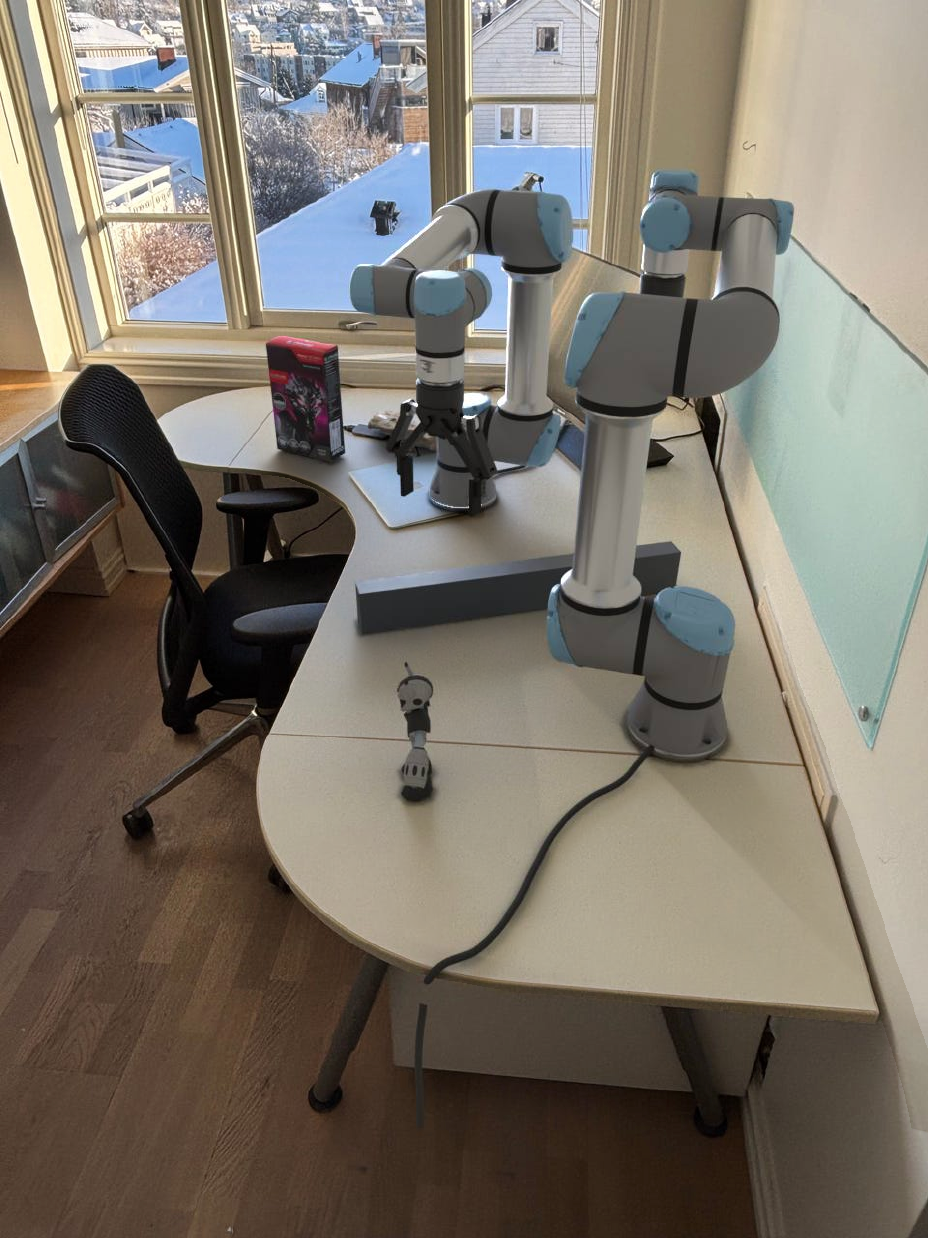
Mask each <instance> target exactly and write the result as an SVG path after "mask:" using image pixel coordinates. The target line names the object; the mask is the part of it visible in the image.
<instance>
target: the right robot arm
mask: <svg viewBox="0 0 928 1238" xmlns="http://www.w3.org/2000/svg"><path fill="white" fill-rule="evenodd" d="M699 181H700V178H699V175H698V174H697V172H695V171H692V170H686V169H672V168H671V169H660V170H659V169H658V170H657V171H654V172H653V174H652V175H651V181H650V188H649V189H648V194H649V195H648V203H646V205H645V207H644V208H643V209H642V212H641V214H640V221H639V234H640V238H641V241H642V242H643V247H642V248H643V249H642V257H641V266H640V267H641V270H642V272H641V274H640V277H639V285H638V293H635V292H626V290H624V291H623V290H622V291H620V292H608V291H607V292H603V291H597V292H593V293H591V294H589V295H588V296H587V297H586V298H585V299H584V301H583V302H582V304H581V306H580V308H579V311H578V314H577V315H576V316H577V317H576V319H575V322H574V327H573V330H572V334H571V338H570V342H569V345H568V351H567V355H566V360H565V367H564V379H563V382H564V385H566V386H567V387H569V388H570V389H575V399H574V400H575V405H576V407H577V406H578V407H579V410H581V411H582V412H583V414H584V415H585V422H584V423H585V424H584V435H583V445H582V456H581V457H582V458H581V467H580V479H579V490H578V491H579V492H578V502H577V513H576V514H577V515H576V524H575V535H574V536H575V537H574V547H573V554H574V557H573V569H571V570H570V571H568V572H567V573H566V574H565V575H564V576H563V577H562V579H561V584H557V585H555V586H554V587H553V588H552V590H551V593H550V596H549V601H548V608H547V617H546V641H547V646H548V650H549V653H550V655H551V656H552V658H554V659H555V660H556V661H558V662H560V663H564V664H567V665H568V664H569V665H573V666H575V667H577V668H583V667H584V668H588V669H589V668H591V669H596V670H602V671H607V672H608V671H609V672H614V673H620V674H627V675H633V676H638V677H639V676H640V677H643V682H642V684H641V685H640V688H639V689H638V691H637V692H636V694H635V695H634V697H633V699H632V701H631V702H630V704H629V706H628V708H627V712H626V719H625V728H626V732H627V734H628V736H629V738H630V739H631V741H632V742H634V744H636V745H637V746H638V747H639V748H640V749H641V750H643V751H642V753H640V755H639V756H638V757H637V758H636V760H635V761H634V762H633V763H632V765H631V766H630V767H629V768H628V769H627V771H626V772H625V773H624V774H623V775H622V776H621V777H619V778H618V779H616V780H614V781H613V782H611V783H609V784H607V785H605V786H603V787H601V788H599V789H597V790H595V791H593V792H590V794H587V796H585V797H583V798H582V799H581V800H580V801H579V802H577V803H576V804H575V805H574V806H573V807H571V808H570V809H569V810H568V811H567V812H566V813H565V814H563V816H562V817H561V818H560V820H558V822H557V823H556V824H555V825H554V827H552V829H551V831H550V832H549V833H548V835H547V836H546V838H545V839H544V841H543V843H542V844H541V846H540V849H539V851H538V852H537V854H536V857H535V858H534V861H533V862H532V864H531V866H530V867H529V869H528V872H527V874H526V876H525V878H524V880H523V882H522V884H521V886H520V888H519V890H518V892H517V894H516V896H515V897H514V899H513V901H512V903H511V904H510V906H509V907H508V908H507V909H506V911H505V913H504V914H503V915H502V917H501V919H500V920H499V921H498V923H497V924H496V925H495V926H494V928H493V929H492V930H491V931H490V932H489V934H487V935H486V936H485V937H484V938H483V939H482V940H481V941H479V942H478V943H476V945H474V946H473V947H470V948H469V949H467V950H465V951H461V952H458V953H456V954H453V955H450V956H447V957H445V958H443V959H441V960H440V961H438V962H437V963H436V964H435V965H433V967H432V968H431V969H429V971H428V972H427V974H426V975H425V977H424V979H423V984H424V985H426V986H427V985H431V984H432V983H433V982H434V980H435V979H436V977H438V975H439V974H440V973H441V972H442V971H444V970H445V969H446V968H448V967H450V966H453V965H456V964H458V963H461V962H465V961H467V960H469V959H472V958H474V957H475V956H478V955H479V954H480V953H482V952H483V951H484V950H486V949H487V947H489V946H490V945H491V944H492V943H493V942H494V941H495V940H496V939H497V938H498V936H500V934H501V933H502V932H503V931H504V929H506V926H507V925H508V924H509V922H510V921H511V920H512V919H513V916H514V915H515V913H516V912H517V910H518V909H519V908H520V906H521V904H522V902H523V901H524V899H525V898H526V895H527V893H528V891H529V889H530V887H531V885H532V882H533V880H534V879H535V876H536V875H537V872H538V870H539V869H540V866H541V865H542V863H543V860H544V859H545V857H546V855H547V853H548V851H549V849H550V847H551V845H552V843H553V842H554V840H555V839H556V837H557V836H558V834H559V833H560V832H561V831H562V829H563V828H564V827H565V825H566V824H567V823H568V822H570V820H571V819H572V818H573V817H575V815H577V814H578V813H579V812H580V811H582V809H584V808H585V807H586V806H588V805H589V804H590V803H592V802H594V801H595V800H597V799H598V798H600V797H603V796H604V795H606V794H608V793H610V792H613V791H614V790H616V789H618V788H620V787H621V786H622V785H625V783H626V782H628V781H629V780H630V779H631V778H632V776H633V775H634V774H635V773H636V772H637V770H638V769H639V767H640V766H641V765H642V764H643V763H644V762H645V761H646V759H648V757H649V756H650V755H651V756H654V757H656V758H659V759H662V760H666V761H670V762H675V763H694V762H700V761H703V760H706V759H709V758H711V757H714V755H716V754H718V752H720V751H721V750H722V748H723V747H724V744H725V743H726V740H727V739H726V738H727V733H728V721H727V716H726V712H725V708H724V707H725V706H724V701H723V692H724V686H725V682H726V678H727V677H726V676H727V671H728V666H729V661H730V657H731V652H732V651H733V650H734V646H735V638H734V637H735V631H736V620H735V616H734V614H733V612H732V610H731V608H730V607H729V606H728V605H727V604H726V603H724V602H723V601H722V600H721V599H720V598H719V597H717V596H716V595H714V594H712V593H710V592H708V591H706V590H704V589H700V588H697V587H696V588H695V587H692V586H688V585H687V586H686V585H676V586H675V587H674V588H670V587H669V588H666V589H664V590H662V591H661V592H660V593H657V595H656V596H655V597H654V598H653V597H649V596H648V597H647V596H643V595H641V585H640V582H639V581H638V580H637V579H636V578H635V577H634V576H633V568H634V560H635V553H636V546H637V544H638V536H639V528H640V521H641V513H642V506H643V499H644V498H643V497H644V491H645V482H646V475H647V466H648V460H649V459H648V458H649V452H650V444H651V437H652V436H651V435H652V429H653V421H654V419H657V417H658V416H660V415H662V414H663V413H664V412H665V411H666V409H667V406H668V405H667V404H668V397H670V398H671V397H673V398H682V399H683V398H684V399H683V402H684V403H689V402H690V399H702V398H703V399H705V398H709V397H713V396H718V395H719V394H723V393H725V392H727V391H729V390H732V389H733V388H735V387H737V386H740V385H741V384H743V383H744V382H746V381H747V380H748V379H749V378H750V377H752V376H753V375H754V374H755V373H756V372H757V371H758V370H760V369H761V368H762V366H763V365H764V364H765V363H766V361H767V360H768V359H769V358H770V356H771V354H772V353H773V351H774V349H775V347H776V345H777V342H778V338H779V333H780V323H781V322H780V321H781V319H780V311H779V308H778V305H777V303H776V301H775V300H774V287H775V274H776V273H775V269H776V257H777V256H779V255H780V256H781V255H783V254H785V253H786V251H787V250H788V247H789V244H790V239H791V234H792V229H793V223H794V215H795V206H794V203H792V202H790V201H788V200H780V199H774V198H772V197H769V198H751V197H731V196H730V197H728V196H725V197H724V196H711V195H710V196H709V195H699ZM691 250H693V251H694V250H695V251H708V252H711V251H712V252H720V257H719V262H718V268H717V274H716V281H715V286H714V292H713V296H712V298H711V299H710V298H691V297H690V298H689V297H684V295H685V287H686V280H687V277H686V275H685V273H686V272H687V271H688V264H689V259H690V258H689V257H690V252H691ZM418 1005H419V1006H418V1013H417V1014H418V1015H417V1020H416V1021H417V1022H416V1029H415V1030H416V1031H415V1040H414V1041H415V1042H414V1084H415V1098H416V1128H417V1129H418V1130H420V1131H422V1130H424V1128H425V1099H424V1098H425V1097H424V1082H423V1051H424V1049H423V1048H424V1037H425V1027H426V1021H427V1015H428V1014H427V1013H428V1004H426V1003H421V1002H419V1004H418Z"/></svg>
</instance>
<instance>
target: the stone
mask: <svg viewBox="0 0 928 1238" xmlns="http://www.w3.org/2000/svg"><path fill="white" fill-rule="evenodd" d="M399 416H400V412H397V411H393V410H384V411H376V412H375V413H374V414H373V415H372V416H371V417H370V419H369V421H368V422H367V429H369V430H378V431H380V433H381V434H383V435H386V436H389V437H390V436H391V434H392V432H393V430H394V427H395V425H396V423H397V421H398V418H399ZM419 423H420V421H415V420H412V421H411V423H410V425H409V427H408V430H407V432H406V434H405V436H404V438H403V441H402V443H404V442H405V441H406V439H407V438H408V437H409V436H410V435H411V434H412V433H413V431H414V429H415V428H416V427H417V426H418V425H419ZM414 447H419V448H422V447H423V448H425V449H428V450H430V451H436V452H437V437H432V436H429V434H428V433H426V434H425V435H424V436H423V437H422V438H421V440H420V441H419V442H418V443H417V444H416V445H415V446H414Z"/></svg>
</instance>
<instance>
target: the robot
mask: <svg viewBox="0 0 928 1238" xmlns="http://www.w3.org/2000/svg"><path fill="white" fill-rule="evenodd" d="M403 664H404V667H405V669H406V670H405V671H406V672H407V675H408V676H406V677H404V678H403V679H402V680H400V682H398V684H397V687H396V693H397V698H398V699H399V703H400V711H401V712H402V713H403V717H404V718H405V721H406V724H407V725H406V733H407V738H408V739H409V742H410V745H411V748H410V749H409V750H410V751H409V752H408V754H407V756H406V757H405V763H404V765H402V768H401V770H400V771H401V772H402V776H403V784H404V785H403V787H402V789H401V792H400V794H401V795H402V797H403V798H404V799H406V801H409V802H413V803H415V802H421V801H423V800H426V799H428V798H430V797H431V795H432V793H433V790H434V789H433V782H432V778H431V775H432V774H433V769H432V762H431V758H430V757H429V754H428V750H426V748H425V745H426V744H427V734H431V731H432V723H431V717H430V715H429V708H430V707H431V701H430V700H431V699H432V697H433V695H434V685H433V683H432V681H431V680H430V679H429V678H428V677H426V676H424V675H422V674H415V673H414V672H413V671H412V669H411V667H410V664H408V662H407V661H405V662H404V663H403Z"/></svg>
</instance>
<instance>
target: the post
mask: <svg viewBox="0 0 928 1238" xmlns="http://www.w3.org/2000/svg"><path fill="white" fill-rule="evenodd" d="M573 557H574V553H568V554H567V553H566V554H559V555H558V554H557V555H551V556H544V557H535V558H529V559H519V560H511V561H504V562H496V563H488V564H481V565H473V566H464V567H457V568H449V569H441V570H433V571H426V572H425V571H424V572H418V573H411V574H409V573H408V574H402V575H394V576H387V577H385V576H384V577H378V578H369V579H362V580H355V581H354V585H355V588H354V589H355V600H356V614H357V615H356V616H357V623H358V626H359V630H360V633H361V635H367V634H373V633H374V634H375V633H383V632H389V631H396V630H403V629H412V628H417V627H425V626H432V625H439V624H446V623H447V624H448V623H453V622H459V621H461V622H462V621H467V620H476V619H481V618H483V619H484V618H490V617H497V616H504V615H510V614H518V613H525V612H526V613H527V612H532V611H533V612H534V611H538V610H546V609H547V610H548V601H549V596H550V593H551V590H552V588H553V587H554V586H555V585H557V584H561V579H562V577H563V576H564V575H565V574H566V573H567V572H568V571H570V570H571V569H573ZM681 557H682V551H681V550H680V548H678V547H677V546H676V544H674V543H673V541H671V540H669V541H661V542H654V543H645V544H638V545H636V553H635V560H634V568H633V576H634V577H635V578H636V579H637V580H638V581H639V582H640V585H641V596H646V595H654V594H659V593H660V592H661V591H662V590H664V589H666V588H669V587H670V588H674V587H675V586H677V582H678V577H679V575H678V574H679V568H680V565H681V564H680V563H681Z"/></svg>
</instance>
